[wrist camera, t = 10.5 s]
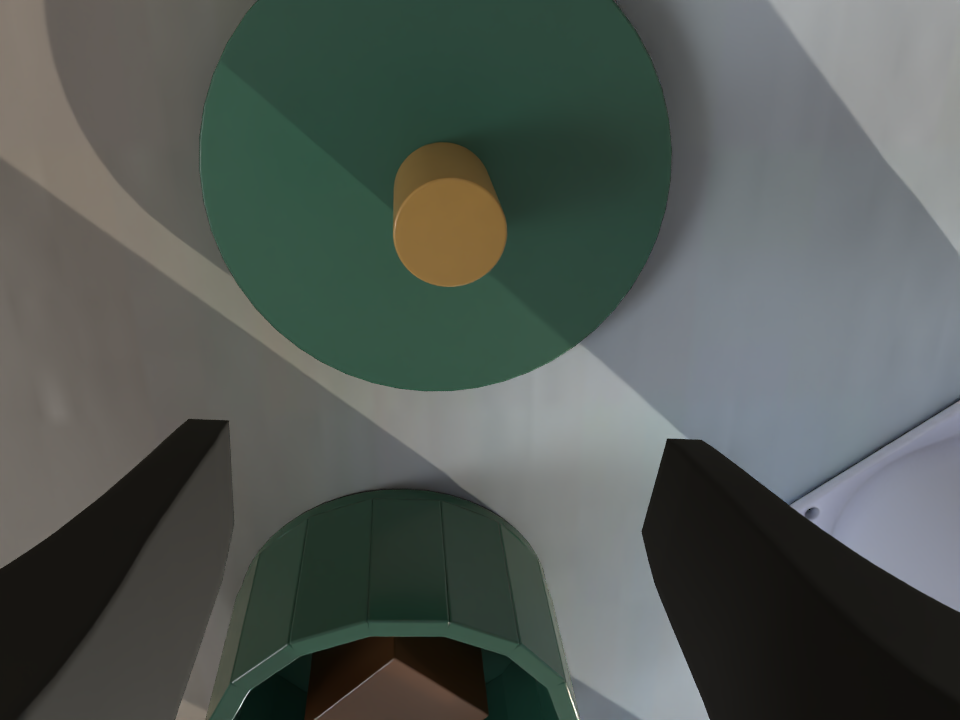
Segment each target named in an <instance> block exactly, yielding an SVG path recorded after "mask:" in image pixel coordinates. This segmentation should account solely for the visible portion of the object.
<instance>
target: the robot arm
mask: <svg viewBox="0 0 960 720" xmlns="http://www.w3.org/2000/svg"><path fill="white" fill-rule="evenodd" d="M812 507H813V508H812ZM810 508H812V509H811V510H810V511H807V510H808V509H810ZM806 511H807V512H806ZM233 526H234V510H233V490H232V471H231V451H230V432H229V421H227V420H202V419H188V420H187V421H186V422H184V423H183V424H182V425H181V426H180V427H179V428H177V429H176V430H175V431H174V432H173V433H172V434H171V435H170V436H169V437H167V438H166V439H165V440H164V441H163V442H162V443H161V444H160V445H159V446H158V447H157V448H156V449H154V450H153V451H152V452H151V453H150V454H149V455H148V456H147V457H146V458H145V459H143V460H142V461H141V462H140V463H139V464H138V465H137V466H136V467H135V468H133V469H132V470H131V471H130V472H129V473H128V474H127V475H125V476H124V477H123V478H122V479H121V480H120V481H118V482H117V483H116V484H115V485H114V486H113V487H111V488H110V489H109V490H108V491H107V492H106V493H104V494H103V495H102V496H101V497H100V498H99V499H97V500H96V501H95V502H94V503H92V504H91V505H90V506H89V507H87V508H86V509H85V510H83V511H82V512H81V513H79V514H78V515H77V516H76V517H74V518H73V519H72V520H70V521H69V522H68V523H67V524H65V525H64V526H63V527H61V528H60V529H59V530H58V531H56V532H55V533H54V534H52V535H51V536H49V537H48V538H47V539H45V540H44V541H42V542H41V543H39V544H38V545H36V546H35V547H34V548H32V549H31V550H29V551H28V552H26V553H25V554H23V555H22V556H20V557H18V558H17V559H15V560H14V561H12V562H11V563H9V564H8V565H6V566H4V567H3V568H1V569H0V720H175V719H176V715H177V712H178V709H179V706H180V703H181V700H182V697H183V694H184V691H185V688H186V685H187V682H188V680H189V677H190V674H191V671H192V668H193V665H194V662H195V659H196V656H197V653H198V650H199V648H200V645H201V642H202V639H203V636H204V633H205V630H206V627H207V624H208V621H209V618H210V615H211V612H212V610H213V607H214V604H215V601H216V598H217V595H218V592H219V589H220V586H221V583H222V580H223V575H224V570H225V566H226V561H227V556H228V551H229V546H230V541H231V536H232V531H233ZM642 536H643V540H644V544H645V548H646V552H647V557H648V561H649V564H650V568H651V572H652V575H653V579H654V583H655V586H656V588H657V591H658V593H659V596H660V599H661V601H662V603H663V606H664V608H665V611H666V613H667V616H668V618H669V621H670V623H671V626H672V628H673V630H674V633H675V635H676V638H677V640H678V642H679V645H680V647H681V649H682V652H683V654H684V657H685V659H686V661H687V664H688V666H689V669H690V671H691V673H692V676H693V678H694V681H695V683H696V685H697V688H698V690H699V693H700V695H701V697H702V700H703V702H704V705H705V707H706V710H707V713H708V716H709V718H710V720H960V401H958V402H956V403H955V404H953V405H952V406H950V407H948V408H947V409H945V410H943V411H942V412H940V413H939V414H937V415H935V416H934V417H932V418H930V419H929V420H927V421H926V422H924V423H922V424H921V425H919V426H917V427H916V428H914V429H913V430H911V431H909V432H908V433H906V434H905V435H903V436H901V437H900V438H898V439H896V440H895V441H893V442H892V443H890V444H888V445H887V446H885V447H883V448H882V449H880V450H879V451H877V452H875V453H874V454H872V455H870V456H869V457H867V458H866V459H864V460H862V461H861V462H859V463H857V464H856V465H854V466H853V467H851V468H849V469H848V470H846V471H844V472H843V473H841V474H840V475H838V476H836V477H835V478H833V479H831V480H830V481H828V482H827V483H825V484H823V485H822V486H820V487H818V488H817V489H815V490H814V491H812V492H810V493H809V494H807V495H805V496H804V497H802V498H801V499H799V500H797V501H796V502H794V503H792V504H791V505H788V504H787V503H785V502H784V501H783V500H782V499H780V498H779V497H778V496H776V495H775V494H774V493H772V492H771V491H770V490H768V489H767V488H766V487H765V486H763V485H762V484H761V483H759V482H758V481H757V480H755V479H754V478H753V477H752V476H750V475H749V474H748V473H746V472H745V471H744V470H743V469H741V468H740V467H739V466H737V465H736V464H735V463H733V462H732V461H731V460H729V459H728V458H727V457H725V456H724V455H723V454H721V453H720V452H719V451H717V450H716V449H714V448H713V447H712V446H710V445H709V444H707V443H706V442H704V441H702V440H692V439H667V441H666V445H665V449H664V452H663V456H662V460H661V463H660V467H659V470H658V474H657V478H656V481H655V485H654V488H653V492H652V496H651V499H650V503H649V507H648V510H647V514H646V517H645V521H644V525H643V528H642Z"/></svg>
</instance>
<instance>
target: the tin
mask: <svg viewBox="0 0 960 720" xmlns="http://www.w3.org/2000/svg"><path fill="white" fill-rule="evenodd" d="M370 636H378V637H447V638H450V639H453V640H456V641H460V642H463V643H466V644H469V645H473V646H476V647H479V648H481V652H482V661H483V669H484V677H485V686H486V694H487V703H488V711H489V716H488V717H486V718H485V719H484V720H580V715H579V711H578V707H577V703H576V699H575V694H574V690H573V686H572V682H571V677H570V673H569V669H568V665H567V661H566V656H565V652H564V648H563V644H562V639H561V635H560V631H559V627H558V623H557V618H556V614H555V610H554V606H553V601H552V598H551V595H550V592H549V589H548V586H547V583H546V580H545V576H544V572H543V568H542V566H541V564H540V562H539V559H538V557H537V555H536V554H535V552H534V550H533V549H532V547H531V546H530V544H529V543H528V542H527V541H526V539H525V538H524V537H523V536H522V535H521V534H520V533H519V532H518V531H517V530H516V529H515V528H514V527H513V526H511V525H510V524H509V523H508V522H506V521H505V520H504V519H503V518H501V517H499V516H498V515H496V514H494V513H493V512H491V511H489V510H488V509H486V508H484V507H481V506H479V505H477V504H475V503H472V502H470V501H467V500H464V499H461V498H458V497H455V496H451V495H447V494H442V493H437V492H432V491H424V490H411V489H390V490H378V491H370V492H362V493H358V494H354V495H350V496H345V497H341V498H339V499H336V500H333V501H330V502H327V503H324V504H322V505H319V506H317V507H315V508H313V509H311V510H309V511H307V512H305V513H303V514H301V515H300V516H298V517H297V518H295V519H294V520H292V521H291V522H289V523H288V524H286V525H285V526H284V527H283V528H281V529H280V530H279V531H278V532H277V533H275V534H274V535H273V536H272V537H271V538H270V539H269V540H268V541H267V543H266V544H265V545H264V546H263V547H262V548H261V549H260V550H259V552H258V553H257V555H256V557H255V558H254V560H253V561H252V563H251V564H250V566H249V569H248V571H247V573H246V576H245V578H244V581H243V585H242V587H241V589H240V591H239V593H238V594H237V596H236V600H235V604H234V608H233V612H232V616H231V620H230V624H229V628H228V632H227V636H226V640H225V644H224V648H223V652H222V656H221V660H220V664H219V668H218V672H217V676H216V680H215V684H214V688H213V692H212V696H211V700H210V704H209V708H208V712H207V716H206V720H304V718H305V710H306V702H307V694H308V686H309V677H310V669H311V661H312V653H314V652H317V651H321V650H324V649H328V648H331V647H335V646H338V645H342V644H346V643H349V642H353V641H356V640H360V639H363V638H367V637H370Z"/></svg>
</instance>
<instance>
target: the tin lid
mask: <svg viewBox="0 0 960 720" xmlns="http://www.w3.org/2000/svg"><path fill="white" fill-rule="evenodd" d="M671 157H672V147H671V136H670V125H669V117H668V113H667V108H666V104H665V99H664V95H663V90H662V87H661V84H660V82H659V79H658V76H657V74H656V71H655V68H654V66H653V63H652V60H651V58H650V56H649V54H648V52H647V50H646V49H645V47H644V45H643V43H642V41H641V39H640V37H639V36H638V34H637V32H636V30H635V29H634V27H633V26H632V24H631V23H630V22H629V20H628V19H627V18H626V16H625V15H624V14H623V12H622V11H621V9H620V8H619V7H618V5H617V4H616V3H615V2H614V1H613V0H257V2H256V3H255V4H254V5H253V6H252V7H251V8H250V10H249V11H248V12H247V13H246V14H245V16H244V17H243V19H242V21H241V22H240V24H239V25H238V27H237V28H236V30H235V31H234V33H233V35H232V36H231V38H230V39H229V41H228V42H227V44H226V47H225V49H224V51H223V53H222V55H221V58H220V60H219V62H218V64H217V66H216V69H215V71H214V73H213V76H212V80H211V83H210V87H209V90H208V93H207V97H206V100H205V104H204V109H203V116H202V123H201V130H200V137H199V172H200V180H201V187H202V195H203V202H204V205H205V209H206V213H207V217H208V220H209V224H210V228H211V231H212V234H213V236H214V239H215V241H216V243H217V246H218V248H219V251H220V253H221V255H222V258H223V260H224V262H225V263H226V265H227V267H228V269H229V270H230V272H231V274H232V276H233V277H234V279H235V281H236V283H237V284H238V286H239V287H240V288H241V290H242V291H243V292H244V294H245V295H246V296H247V298H248V299H249V300H250V302H251V303H252V304H253V306H254V307H255V308H256V309H257V310H258V311H259V312H260V314H261V315H262V316H263V317H264V318H265V319H266V320H267V321H268V322H269V323H270V324H271V325H272V326H273V327H274V328H275V329H276V330H277V331H278V332H280V333H281V334H282V335H283V336H285V337H286V338H287V339H288V340H290V341H291V342H292V343H293V344H294V345H296V346H297V347H298V348H300V349H302V350H303V351H305V352H306V353H308V354H309V355H311V356H313V357H314V358H316V359H317V360H319V361H321V362H322V363H325V364H327V365H329V366H331V367H333V368H335V369H337V370H339V371H341V372H343V373H345V374H348V375H351V376H354V377H357V378H360V379H363V380H366V381H368V382H371V383H376V384H380V385H385V386H389V387H394V388H399V389H409V390H418V391H455V390H463V389H471V388H478V387H483V386H487V385H491V384H495V383H499V382H504V381H506V380H509V379H512V378H515V377H517V376H520V375H523V374H526V373H528V372H530V371H533V370H535V369H537V368H539V367H541V366H543V365H545V364H547V363H549V362H551V361H553V360H554V359H556V358H557V357H559V356H560V355H562V354H564V353H565V352H567V351H568V350H570V349H571V348H573V347H574V346H576V345H577V344H578V343H579V342H581V341H582V340H583V339H584V338H585V337H587V336H588V335H589V334H590V333H592V332H593V331H594V330H595V329H596V328H597V327H598V326H599V325H600V324H601V323H602V322H603V321H604V320H605V319H606V318H607V317H608V316H609V315H610V314H611V313H612V312H613V311H614V310H615V308H616V307H617V306H618V305H619V303H620V302H621V301H622V299H623V298H624V297H625V295H626V294H627V293H628V291H629V290H630V289H631V288H632V286H633V284H634V282H635V281H636V279H637V277H638V276H639V274H640V272H641V271H642V269H643V267H644V266H645V264H646V262H647V259H648V257H649V255H650V253H651V250H652V248H653V246H654V243H655V241H656V239H657V236H658V233H659V230H660V226H661V223H662V220H663V216H664V213H665V210H666V204H667V198H668V192H669V186H670V180H671Z"/></svg>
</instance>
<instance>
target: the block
mask: <svg viewBox="0 0 960 720" xmlns="http://www.w3.org/2000/svg"><path fill="white" fill-rule="evenodd" d="M488 716H489V711H488V703H487V694H486V686H485V677H484V669H483V661H482V652H481V648H479V647H476V646H473V645H469V644H466V643H463V642H460V641H456V640H453V639H450V638H447V637H378V636H370V637H367V638H363V639H360V640H356V641H353V642H349V643H346V644H342V645H338V646H335V647H331V648H328V649H324V650H321V651H317V652H314V653H312V661H311V669H310V677H309V686H308V694H307V702H306V710H305V718H304V720H484V719H485V718H486V717H488Z"/></svg>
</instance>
